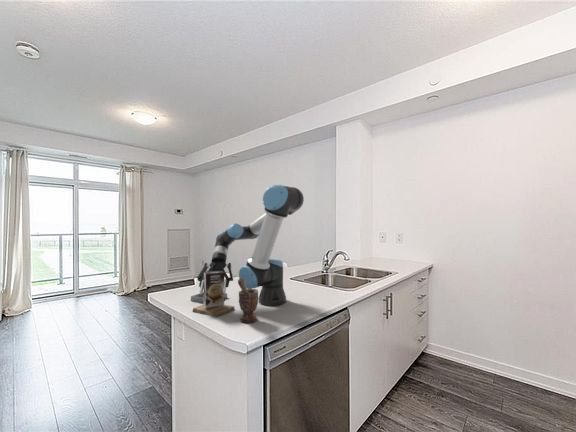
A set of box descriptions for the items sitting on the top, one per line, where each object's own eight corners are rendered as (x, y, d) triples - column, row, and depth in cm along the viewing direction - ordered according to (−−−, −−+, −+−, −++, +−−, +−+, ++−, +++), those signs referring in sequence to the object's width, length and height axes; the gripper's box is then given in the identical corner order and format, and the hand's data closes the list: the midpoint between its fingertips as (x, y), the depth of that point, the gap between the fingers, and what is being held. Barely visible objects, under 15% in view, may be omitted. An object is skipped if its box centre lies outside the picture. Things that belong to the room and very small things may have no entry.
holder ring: (227, 297, 155) (227, 293, 155) (209, 304, 143) (209, 299, 143) (209, 294, 162) (209, 290, 162) (190, 300, 150) (190, 296, 150)
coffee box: (205, 307, 128) (205, 273, 129) (203, 304, 134) (203, 271, 134) (224, 304, 133) (224, 272, 133) (221, 301, 138) (221, 270, 139)
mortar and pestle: (256, 327, 113) (256, 279, 113) (235, 327, 113) (235, 279, 113) (259, 317, 124) (259, 273, 124) (240, 317, 124) (240, 273, 124)
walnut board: (234, 309, 135) (234, 306, 135) (217, 317, 124) (217, 313, 124) (210, 304, 142) (210, 301, 143) (192, 311, 132) (192, 308, 132)
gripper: (241, 260, 149) (237, 296, 134) (200, 260, 149) (190, 296, 133) (240, 251, 144) (235, 288, 128) (197, 252, 144) (186, 288, 128)
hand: (212, 292), depth 131 cm, fingers closed on coffee box, 10 cm apart
